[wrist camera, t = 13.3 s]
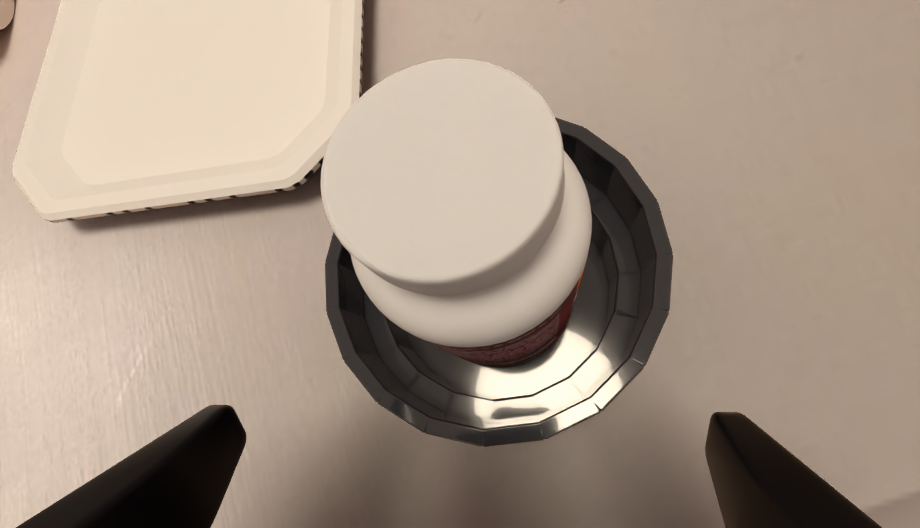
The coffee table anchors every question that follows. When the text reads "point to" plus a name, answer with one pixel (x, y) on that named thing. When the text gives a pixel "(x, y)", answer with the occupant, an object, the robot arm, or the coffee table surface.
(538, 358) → the dish
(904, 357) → the coffee table surface
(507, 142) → the pill bottle
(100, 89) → the plate
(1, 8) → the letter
